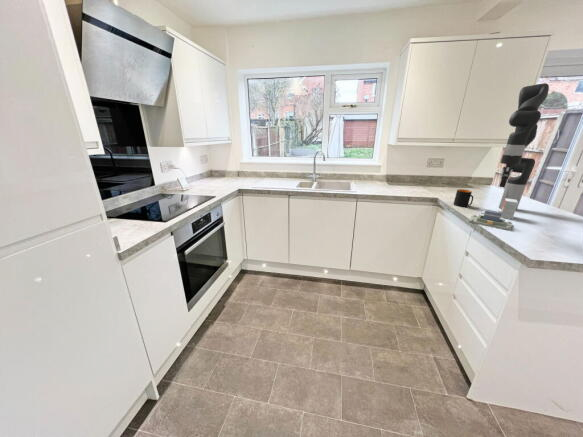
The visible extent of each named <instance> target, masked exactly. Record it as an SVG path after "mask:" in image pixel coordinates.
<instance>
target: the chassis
mask: <svg viewBox="0 0 583 437" xmlns="http://www.w3.org/2000/svg"><path fill="white" fill-rule="evenodd" d="M483 216H484V214H479V215H476V214H473V215H471V216H470V218H469V220H468V223H472V224H477V225H480V224H481V226H485V225H486V227H490V226H491V228H494V227H496V229H499V228H501V229H500V230H504V229H506V230H505V231H509V230H510V231H512V226H513V222H512V221H509V220H508V221H506V219H505V218H500V220H499V222H495V221H490V220H485V219H483Z"/></svg>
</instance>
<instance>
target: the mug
mask: <svg viewBox="0 0 583 437" xmlns="http://www.w3.org/2000/svg"><path fill="white" fill-rule="evenodd" d="M470 199H471V202H470ZM473 202H474V196H473V195H472V191H471V190H469V189H456V193H455V198H454V200H453V206H456V207H462V208H467V207H468V206H471V205H472V204H473Z"/></svg>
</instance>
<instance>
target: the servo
mask: <svg viewBox="0 0 583 437" xmlns="http://www.w3.org/2000/svg"><path fill="white" fill-rule="evenodd" d="M501 214H502V212H501V210H491V209H488V208H487V209H485V211H484V210H482V211H481V214H480V215H483V219H485V220H490V221H495V222H499V220H500V219H505V218H504V215H501Z"/></svg>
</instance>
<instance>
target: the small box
mask: <svg viewBox="0 0 583 437" xmlns="http://www.w3.org/2000/svg"><path fill="white" fill-rule="evenodd" d="M517 205H518V201H517V200H515V199H508V198H505V200H504V203H503V206H502V209H501V208H500V212H502V214H501V215H504V218H503V219H506V218H507V219H508V220H513V218H514V215H515V212H516V211H517V210H516V208H517ZM518 206H519V205H518ZM517 209H518V208H517ZM515 210H516V211H515Z"/></svg>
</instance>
